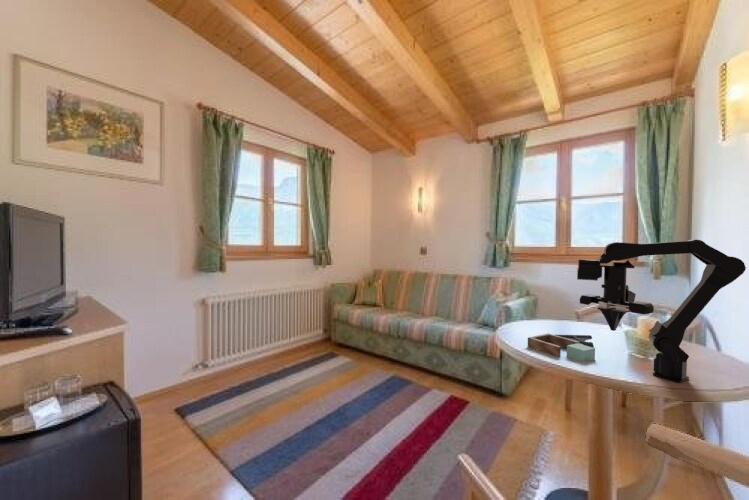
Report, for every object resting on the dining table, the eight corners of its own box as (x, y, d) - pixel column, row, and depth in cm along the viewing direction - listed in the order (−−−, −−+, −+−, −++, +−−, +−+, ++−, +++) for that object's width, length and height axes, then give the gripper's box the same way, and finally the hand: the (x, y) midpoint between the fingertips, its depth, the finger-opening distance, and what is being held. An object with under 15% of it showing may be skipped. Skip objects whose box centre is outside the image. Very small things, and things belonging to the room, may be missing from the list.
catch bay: (579, 351, 121) (579, 341, 121) (558, 356, 115) (558, 346, 115) (548, 342, 132) (548, 333, 132) (527, 346, 126) (527, 337, 126)
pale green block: (594, 359, 113) (595, 348, 113) (583, 362, 110) (584, 350, 110) (577, 354, 118) (577, 343, 118) (566, 356, 116) (566, 345, 116)
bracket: (571, 349, 125) (572, 342, 124) (553, 337, 139) (554, 331, 139) (612, 351, 123) (612, 343, 123) (589, 339, 138) (589, 332, 138)
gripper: (663, 283, 100) (661, 334, 101) (597, 277, 117) (596, 321, 117) (645, 286, 95) (643, 339, 96) (579, 278, 111) (577, 324, 112)
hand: (613, 330), depth 105 cm, fingers closed
